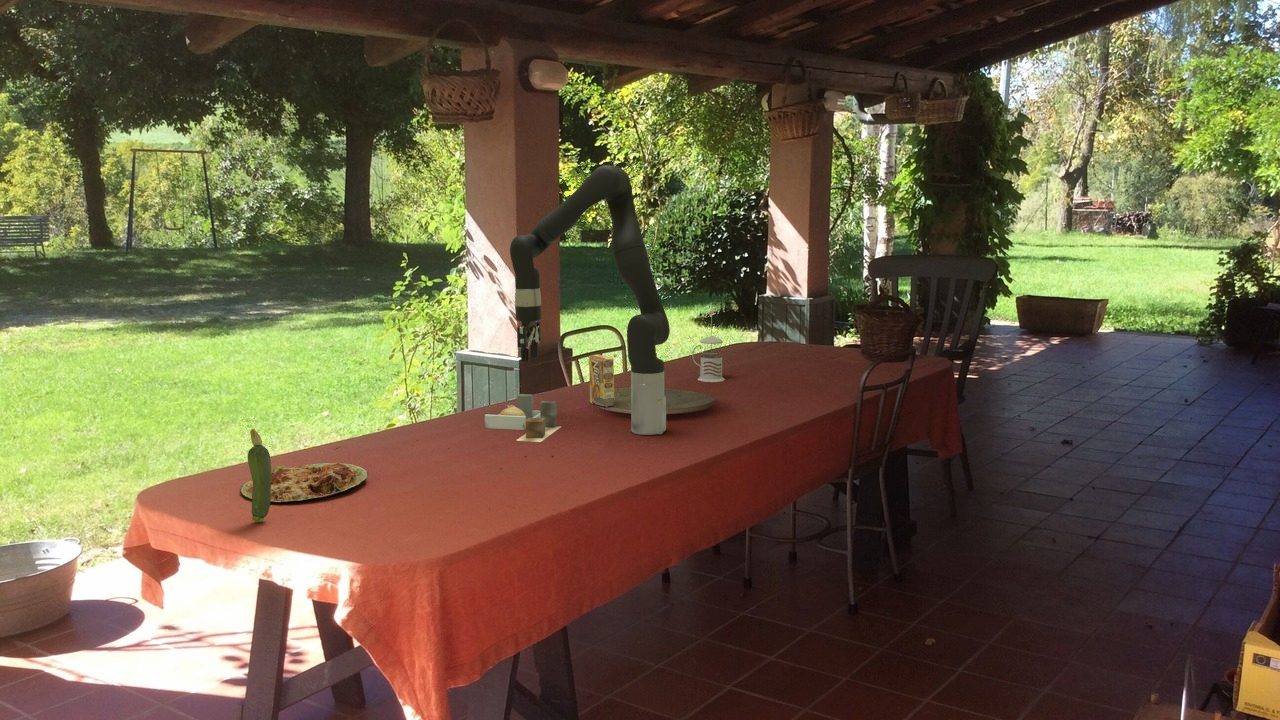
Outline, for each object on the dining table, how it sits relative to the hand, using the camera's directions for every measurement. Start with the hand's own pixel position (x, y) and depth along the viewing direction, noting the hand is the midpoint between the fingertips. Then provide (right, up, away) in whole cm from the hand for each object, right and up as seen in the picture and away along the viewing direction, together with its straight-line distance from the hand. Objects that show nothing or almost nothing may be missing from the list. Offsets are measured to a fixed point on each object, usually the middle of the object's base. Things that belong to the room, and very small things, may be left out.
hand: (530, 359), depth 298 cm
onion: (-4, -20, -9) cm, 22 cm away
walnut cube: (+4, -21, -22) cm, 31 cm away
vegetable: (-45, -34, -89) cm, 105 cm away
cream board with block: (+5, -21, -19) cm, 29 cm away
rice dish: (-45, -30, -63) cm, 83 cm away
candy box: (+20, -14, +23) cm, 34 cm away
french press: (+56, -7, +64) cm, 86 cm away
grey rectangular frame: (-3, -19, -5) cm, 20 cm away
